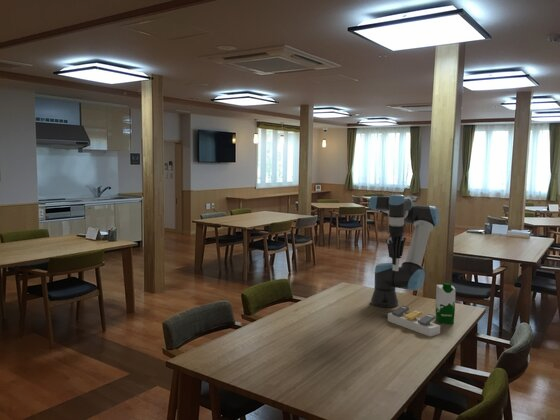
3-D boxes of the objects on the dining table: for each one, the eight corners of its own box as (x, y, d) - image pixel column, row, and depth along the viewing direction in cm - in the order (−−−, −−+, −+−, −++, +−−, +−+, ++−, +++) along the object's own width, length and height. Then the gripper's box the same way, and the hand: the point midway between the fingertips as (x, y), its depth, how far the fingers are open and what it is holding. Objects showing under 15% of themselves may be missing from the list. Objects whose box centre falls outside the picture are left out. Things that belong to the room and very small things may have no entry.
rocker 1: (402, 307, 237) (402, 305, 237) (409, 309, 234) (408, 307, 234) (392, 314, 233) (391, 311, 233) (398, 316, 230) (398, 313, 230)
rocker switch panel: (385, 314, 247) (385, 305, 246) (439, 333, 219) (440, 323, 218) (376, 316, 243) (376, 307, 242) (430, 336, 215) (430, 325, 214)
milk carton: (437, 323, 233) (439, 284, 231) (433, 318, 241) (435, 280, 240) (455, 324, 232) (457, 285, 230) (451, 318, 241) (452, 280, 239)
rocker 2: (415, 312, 231) (415, 309, 231) (422, 314, 228) (421, 311, 227) (404, 318, 227) (404, 315, 226) (411, 320, 223) (410, 317, 223)
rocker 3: (428, 316, 224) (428, 313, 224) (435, 318, 221) (435, 315, 221) (418, 323, 220) (417, 320, 220) (424, 325, 217) (424, 322, 217)
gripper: (398, 223, 244) (398, 267, 247) (381, 225, 236) (381, 271, 239) (410, 224, 238) (409, 270, 241) (393, 227, 230) (392, 274, 233)
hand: (395, 270), depth 240 cm, fingers closed
